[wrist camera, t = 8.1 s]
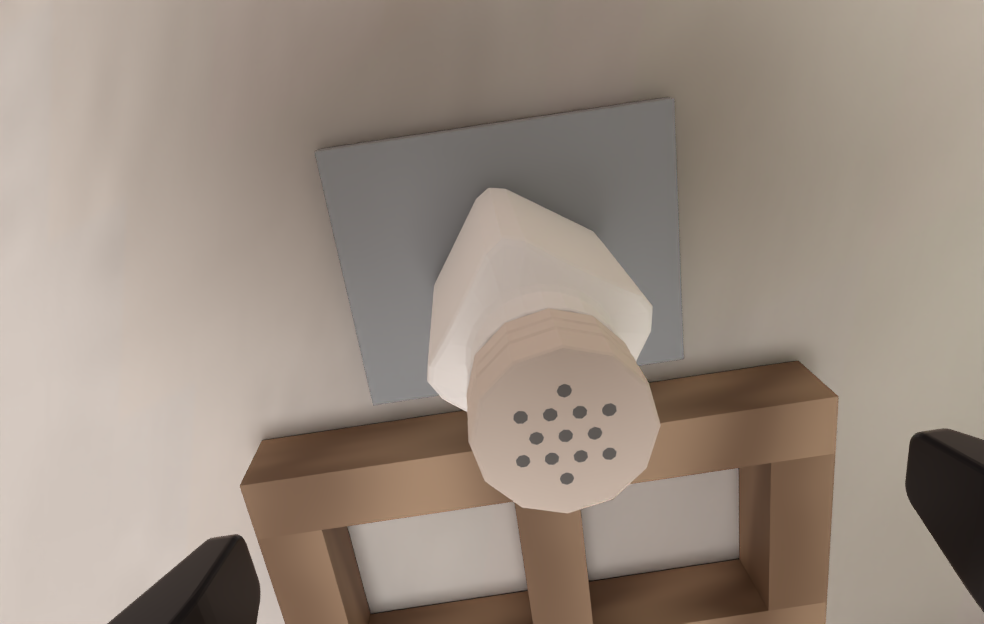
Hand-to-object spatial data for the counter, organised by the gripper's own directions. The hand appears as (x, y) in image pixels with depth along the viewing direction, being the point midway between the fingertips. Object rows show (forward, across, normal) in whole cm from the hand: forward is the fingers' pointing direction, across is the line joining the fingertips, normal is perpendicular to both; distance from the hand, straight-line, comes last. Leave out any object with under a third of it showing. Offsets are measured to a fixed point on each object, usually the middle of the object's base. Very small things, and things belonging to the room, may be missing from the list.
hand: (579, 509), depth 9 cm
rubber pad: (+12, 0, 0) cm, 12 cm away
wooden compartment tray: (+12, 0, +10) cm, 16 cm away
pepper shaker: (+12, 0, 0) cm, 12 cm away
